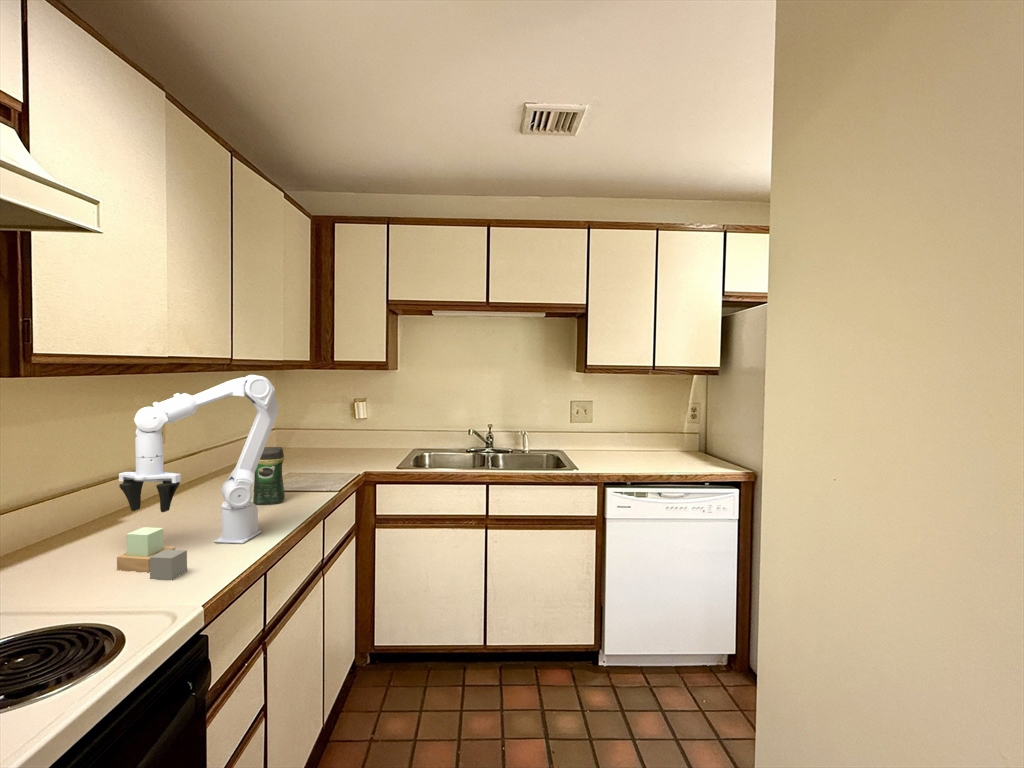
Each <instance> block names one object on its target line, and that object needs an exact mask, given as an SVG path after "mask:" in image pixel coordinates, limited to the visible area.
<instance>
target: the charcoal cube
mask: <svg viewBox="0 0 1024 768" xmlns="http://www.w3.org/2000/svg"><path fill="white" fill-rule="evenodd" d="M186 571H187V572H188V549H175V550H169V549H165V550H163V551H161V552H159V553H157V554H155V555H153V556H151V557H150V573H149V580H150V579H156V581H171V580H172V581H174V580H175V579H177V578H179V577H180V576H179V575H181V574H182V573H184V572H186ZM187 572H186V573H187ZM184 574H185V573H184ZM182 575H183V574H182ZM182 575H181V576H182ZM178 576H179V577H178ZM176 577H177V578H176ZM174 578H175V579H174ZM173 579H174V580H173Z"/></svg>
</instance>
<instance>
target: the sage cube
mask: <svg viewBox="0 0 1024 768" xmlns="http://www.w3.org/2000/svg"><path fill="white" fill-rule="evenodd" d="M163 546H164V527H147V526H145V527H144V526H143V527H140V528H139V529H136V530H133V531H131V532H128V533H126V553H127V556H144V557H148V556H150V555H152V554H154V553H156V552H158V551H161V550H163Z"/></svg>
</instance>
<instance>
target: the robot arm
mask: <svg viewBox="0 0 1024 768" xmlns="http://www.w3.org/2000/svg"><path fill="white" fill-rule="evenodd" d="M231 396H232V397H247V399H248V400H250V401H251V403H252V405H253V407H254V409H255V410H256V416H255V417H254V420H253V423H252V425H251V428H250V431H249V432H248V436H247V437H246V440H245V443H244V445H243V447H242V450H241V453H240V456H239V458H238V460H237V463H236V465H235V467H234V469H232V472H231V473H230V475H229V477H228V478H227V479H226V480H225V481H224V482H223V483H222V486H221V488H220V492H221V496H222V497H223V498H224V501H223V502H222V504H221V507H220V508H221V509H220V511H221V514H220V515H221V518H220V519H221V521H220V522H221V536H219V537H218V538H216V539H214V541H213V542H214V543H222V544H223V543H225V544H226V543H227V544H244V543H246V542H248V541H249V540H251V539H253V538H254V537H256V536H258V535H260V534H261V533H262V530H259V508H258V506H257V504H255V503H253V501H252V500H253V490H252V489H253V487H254V478H255V471H256V468H257V466H258V463H259V460H260V458H261V455H262V453H263V450H264V448H265V447H266V445H267V442H268V440H269V437H270V435H271V432H272V430H273V427H274V424H275V422H276V420H277V417H278V415H279V405H278V402H277V396H276V389H275V387H274V385H273V383H272V382H271V381H270V380H269V379H268V378H267V377H265V376H262V375H258V374H257V375H256V374H249V375H246V376H245V377H243V376H242V377H239V378H238V377H237V378H234V379H230V380H227V381H225V382H223V383H220V384H218V385H216V386H213V387H211V388H209V389H206V390H204V391H200V392H198V393H196V394H194V395H191V394H189V393H186V392H184V393H179V392H177V393H174V394H173V397H171V398H168V399H166V400H162V401H160V402H157V401H155V402H153V403H152V406H145V407H142V408H140V409H138V411H137V412H136V413H135V416H134V418H133V421H134V423H135V426H136V430H135V436H136V437H135V438H134V441H135V443H134V444H135V446H134V448H135V471H124V472H120V473H118V482H122V483H120V484H118V486H119V488H120V490H121V491H122V492H123V495H125V497H126V500H127V502H128V505H129V507H130V511H131V512H135V511H137V510H140V509H141V506H142V505H141V502H142V500H141V499H142V498H141V497H142V488H143V485H144V482H147V483H148V482H152V483H158V484H156V486H155V487H156V490H157V492H158V496H159V509H160V510H159V511H160V512H161V513H166V512H168V511H170V508H171V504H172V501H173V498H174V496H175V493H176V491H177V489H178V488H179V486H180V484H181V481H182V480H181V479H182V477H181V476H182V474H181V473H174V472H167V471H164V462H165V461H164V436H163V426H164V425H165V424H167V425H170V424H172V423H173V424H174V423H175V422H177V421H180V420H182V419H185V418H187V417H190V416H193V415H194V414H196V412H197V410H198V408H199V407H202V406H204V405H207V404H210V403H214V402H216V401H219V400H221V399H224V398H226V397H227V398H228V397H231Z"/></svg>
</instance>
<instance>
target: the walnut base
mask: <svg viewBox="0 0 1024 768" xmlns="http://www.w3.org/2000/svg"><path fill="white" fill-rule="evenodd" d="M165 549H169V550H176V546H165V545H163V550H165ZM163 550H161V551H163ZM161 551H158V552H156V553H154V554H152V555H150V556H148V557H144V556H127V552H125V553H123V554H120V555H118V556H116V571H118V570H119V571H120V570H121V571H120V572H130V571H136V572H135V573H142V572H147V573H146V574H150V573H149V572H150V557H151V556H153V555H155V554H157V553H159V552H161Z"/></svg>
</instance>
